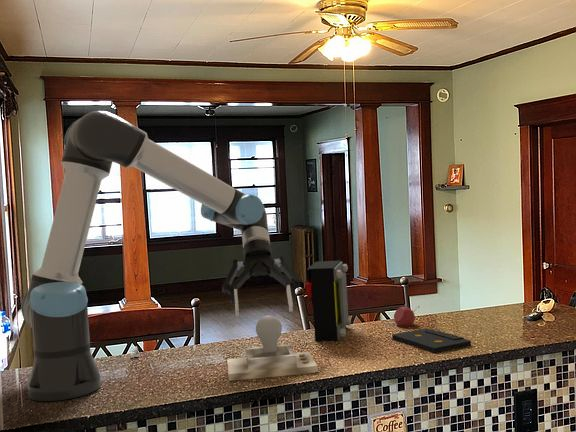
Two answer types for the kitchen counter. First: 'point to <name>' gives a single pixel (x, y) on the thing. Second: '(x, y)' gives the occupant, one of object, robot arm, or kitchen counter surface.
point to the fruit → (404, 316)
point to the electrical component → (328, 299)
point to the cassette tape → (431, 340)
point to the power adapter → (134, 352)
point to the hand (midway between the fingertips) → (264, 311)
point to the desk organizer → (270, 364)
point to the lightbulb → (269, 333)
